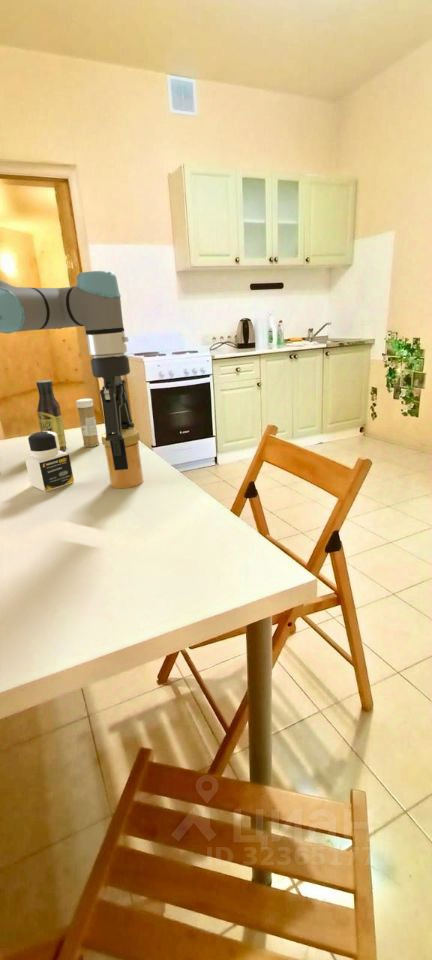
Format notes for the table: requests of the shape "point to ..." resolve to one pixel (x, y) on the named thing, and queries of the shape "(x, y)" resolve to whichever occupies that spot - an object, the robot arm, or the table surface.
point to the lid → (128, 435)
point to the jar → (126, 476)
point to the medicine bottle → (48, 462)
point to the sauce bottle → (50, 412)
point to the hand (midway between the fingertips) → (125, 462)
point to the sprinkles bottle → (87, 422)
